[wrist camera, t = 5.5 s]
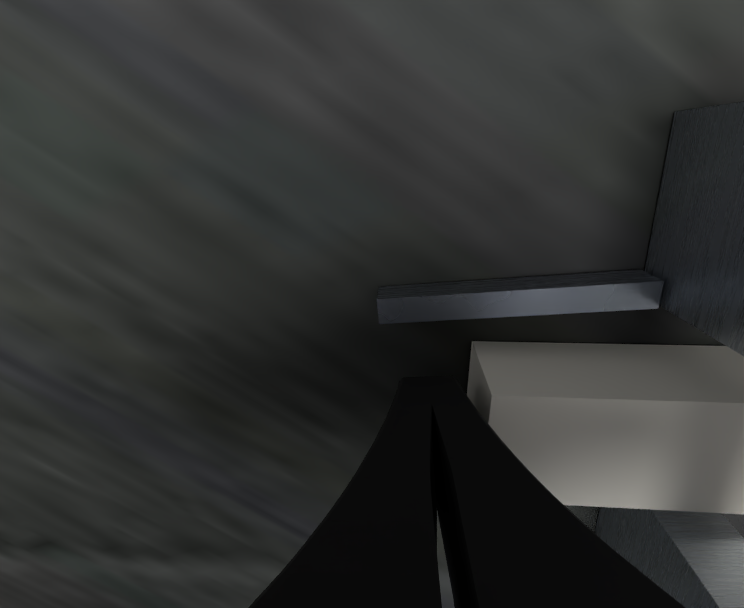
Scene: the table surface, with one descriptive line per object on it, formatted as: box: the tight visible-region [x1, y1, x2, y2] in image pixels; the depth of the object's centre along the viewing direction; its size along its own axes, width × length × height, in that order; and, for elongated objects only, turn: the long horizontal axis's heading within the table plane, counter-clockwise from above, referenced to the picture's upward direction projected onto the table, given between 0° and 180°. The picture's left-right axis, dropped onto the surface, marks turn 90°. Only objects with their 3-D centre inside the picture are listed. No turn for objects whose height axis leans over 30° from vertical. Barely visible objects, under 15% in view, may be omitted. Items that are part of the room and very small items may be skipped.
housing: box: [377, 102, 744, 608], centre depth 7 cm, size 7×12×5 cm, turn 6°
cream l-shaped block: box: [467, 341, 744, 514], centre depth 8 cm, size 10×3×4 cm, turn 91°
